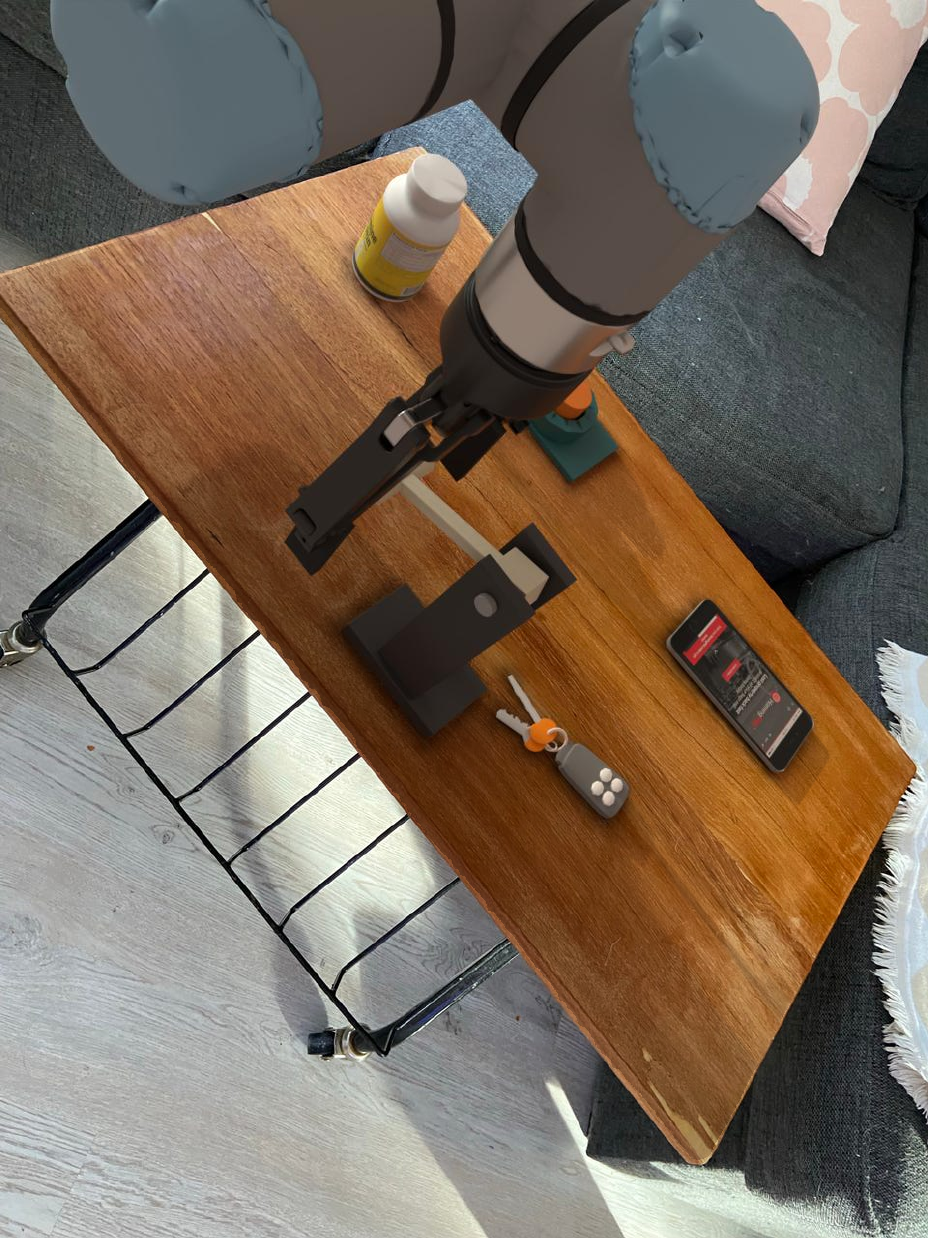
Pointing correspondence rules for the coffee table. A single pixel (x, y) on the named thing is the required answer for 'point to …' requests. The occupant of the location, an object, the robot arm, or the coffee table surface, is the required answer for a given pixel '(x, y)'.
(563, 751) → the key chain
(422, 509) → the switch lever
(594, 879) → the coffee table surface
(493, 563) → the lever switch stand
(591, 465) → the teal button base
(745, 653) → the smartphone
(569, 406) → the button
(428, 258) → the pill bottle
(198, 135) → the robot arm
